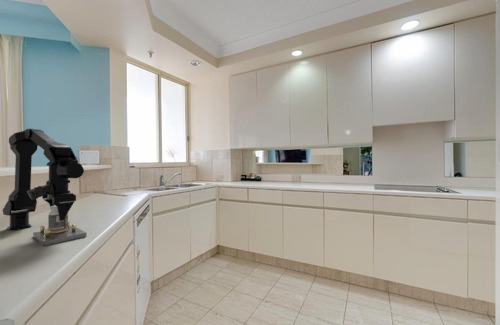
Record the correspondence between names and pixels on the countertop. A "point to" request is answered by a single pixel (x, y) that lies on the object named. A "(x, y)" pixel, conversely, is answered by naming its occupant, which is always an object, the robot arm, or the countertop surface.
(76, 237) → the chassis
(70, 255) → the countertop surface
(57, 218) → the pill bottle
